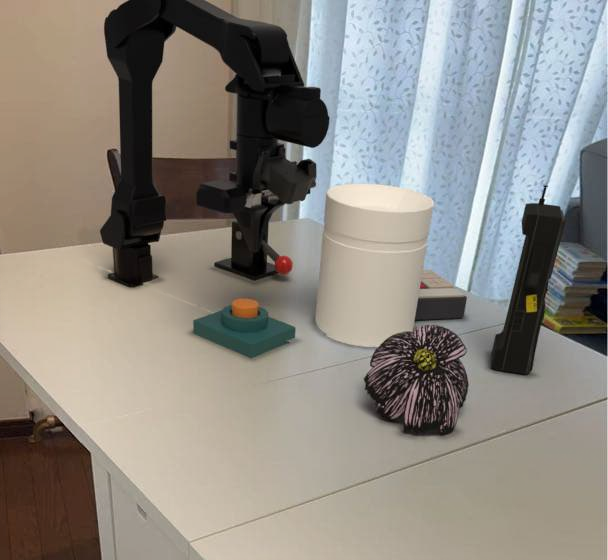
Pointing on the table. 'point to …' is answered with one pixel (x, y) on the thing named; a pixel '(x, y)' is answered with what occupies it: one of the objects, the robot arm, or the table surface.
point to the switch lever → (277, 259)
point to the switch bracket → (246, 258)
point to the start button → (245, 308)
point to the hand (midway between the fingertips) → (254, 251)
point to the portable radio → (529, 288)
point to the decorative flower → (419, 379)
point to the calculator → (438, 298)
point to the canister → (371, 262)
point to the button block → (244, 331)
